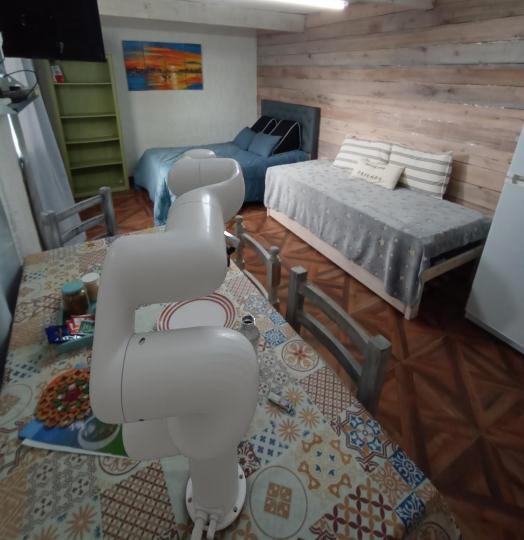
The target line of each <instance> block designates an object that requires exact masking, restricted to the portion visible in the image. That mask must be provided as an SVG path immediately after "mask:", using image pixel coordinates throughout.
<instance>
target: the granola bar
mask: <svg viewBox="0 0 524 540" xmlns="http://www.w3.org/2000/svg"><path fill="white" fill-rule="evenodd" d="M267 400H270V401H272V402H273V403H275V404H276V405H277V406H280V407H282V408H283V409H285V410H287V412H290V410H291V408H292V406H293V402H292V403H291V402H290V401H288V400H287V399H285V398H283V397H282V396H280V395H278V394H276V393H275V392H273V391H271V390H270V392H269V394H268V395H267Z"/></svg>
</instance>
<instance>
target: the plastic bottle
mask: <svg viewBox="0 0 524 540" xmlns="http://www.w3.org/2000/svg"><path fill="white" fill-rule="evenodd" d="M240 321H241V322H240V326H239V327H238V328H237V330H236V331H238V332H239V333H241V334H243V335H244V336H245V337H246V338H247V339H248V340H249V341H250V343H251V344H252V346H253V348H254V351H255V353H256V356H257V361H258V366H259V373H260V372H261V367H262V365H261V361H260V356H259V343H260V339H261V338H260V337H261V333H260V330H259V328H258V327H257V325H256V319H255V316H254V315H252V314H246V315H245V314H244V315H243V316H241V319H240Z"/></svg>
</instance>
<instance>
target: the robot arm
mask: <svg viewBox="0 0 524 540" xmlns="http://www.w3.org/2000/svg"><path fill="white" fill-rule="evenodd" d="M166 177H167V179H166V180H167V187H168V189H169V190H170V192H171V194H172V195H173V196H175V197H177V198H175V199H174V200H173V202H172V203H171V205H170V206H169V208H168V212H167V215H166V216H167V217H166V221H165V226H164V230H163V232H152V233H139V234H137V233H136V234H125V235H121V236H119V237H117V238H116V239H115V240H113V241H112V243H111V244H110V246H109V247H108V249H107V251H106V254H105V256H104V259H103V262H102V267H101V270H100V275H99V282H98V288H97V294H96V295H97V296H96V305H95V315H94V328H93V339H92V349H91V359H90V371H89V385H88V392H89V395H88V397H89V404H90V408H91V411H92V413H93V415H94V417H95V418H96V419H97V420H98V421H100V422H102V423H104V424H108V425H121V436H122V437H121V438H122V444H123V448H124V451H125V453H126V455H127V456H128V458H129V459H130V460H132V461H135V462H146V461H155V460H160V459H167V458H171V457H176V456H184V457H185V458H187V460H188V464H189V465H188V466H189V474H190V476H189V478H188V481H187V485H186V489H185V505H186V510H187V513H188V515H189V517H190V519H191V521H192V522H193V524H194V526H193V529H192V530H191V531H192V533H191V535H190V540H202V538H203V532H204V531H206V532H207V533H206V539H207V540H214V537H215V533H216V532H219V531H221V530H224V529H226V528H228V527H229V526H230V525H231V524H232V523H234V521H236V519H237V518H238V517H239V515H240V513H241V511H242V509H243V507H244V505H245V501H246V497H247V496H246V495H247V479H246V475H245V472H244V470H243V468H242V466H241V465H240V463H239V456H238V455H239V454H238V445H240V443H241V442H242V441H243V439H244V438H245V437H246V435H247V433H248V432H249V430H250V429H251V426H252V424H253V420H254V418H255V415H256V410H257V408H258V407H257V406H258V400H259V394H260V372H259V366H258V361H257V356H256V353H255V351H254V348H253V346H252V344H251V343H250V341H249V340H248V339H247V338H246V337H245V336H244V335H243V334H241V333H239V332H238V331H237V330H236V329H233V328H231V329H230V328H226V327H220V326H197V327H188V328H178V329H169V330H160V331H157V330H153V331H144V332H136V331H135V330H136V329H135V328H136V326H135V325H136V310H137V308H138V307H140V306H148V305H160V304H168V303H170V302H179V301H188V300H195V299H199V298H203V297H206V296H208V295H210V294H212V293H214V292H217V291H218V290H219V289H220V288H221V287H222V286H223V284H224V283H225V280H226V278H227V274H228V268H230V266H231V255H233V254H234V253H235V252H236V250H237V249H238V247H239V245H240V243H241V239H240V238H239V237H237V236H235V235H233V234H232V233H229V231H227V225H226V224H227V223H228V222H229V221H230V220H232V219H233V218H234V217H235V216H236V215H237V213H238V212H239V211H240V210H241V208H242V206H243V203H244V200H245V197H246V195H245V194H246V186H245V179H244V175H243V170H242V167H241V165H240V163H239V161H237V160H236V159H234V158H231V157H217V155H216V153H215V152H214V151H213V150H211V149H206V148H193V149H189V150H186V151H184V153H182V155H181V158H179V159H178V160H176V161H175V162H174V163H173V164H172V165H171V167H170V169H169V170H168V172H167V176H166ZM227 242H229V243H231V246H229V245H228V244H227ZM235 511H236V512H235Z"/></svg>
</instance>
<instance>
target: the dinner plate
mask: <svg viewBox="0 0 524 540" xmlns="http://www.w3.org/2000/svg"><path fill="white" fill-rule="evenodd" d="M237 309H238V308H237V306H236V304H235V302H234V301H233V300H232V299H231V298H230V297H229V296H227V295H226V294H224V293H222V292H219V291H215V292H214V293H212V294H210V295H208V296H206V297H203V298H199V299H195V300H188V301H179V302H169V303H166V305H165V306H164V307H163V308H162V310H161V311H160V313H159V314H158V316H157V319H156V331H160V330H169V329H178V328H188V327H197V326H220V327H226V328H230V329H233V327H234V325H235V324H236V320H237V316H238V311H237Z"/></svg>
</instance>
